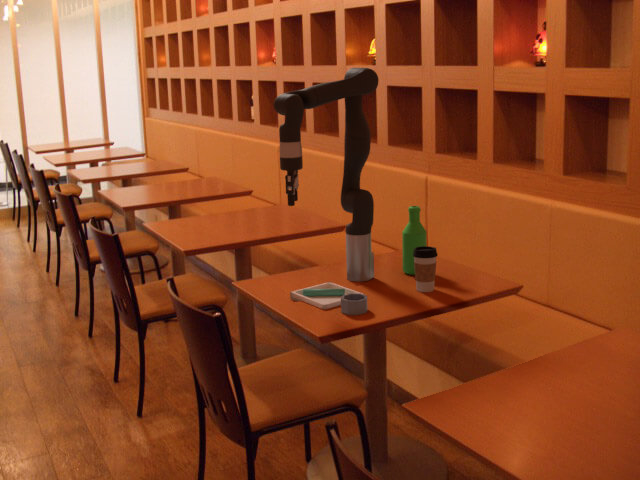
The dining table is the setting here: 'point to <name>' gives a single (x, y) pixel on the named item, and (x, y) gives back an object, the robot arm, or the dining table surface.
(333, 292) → the green rounded rod
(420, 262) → the coffee cup
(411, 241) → the bottle
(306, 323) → the dining table surface
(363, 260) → the robot arm
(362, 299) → the cup
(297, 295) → the tray
